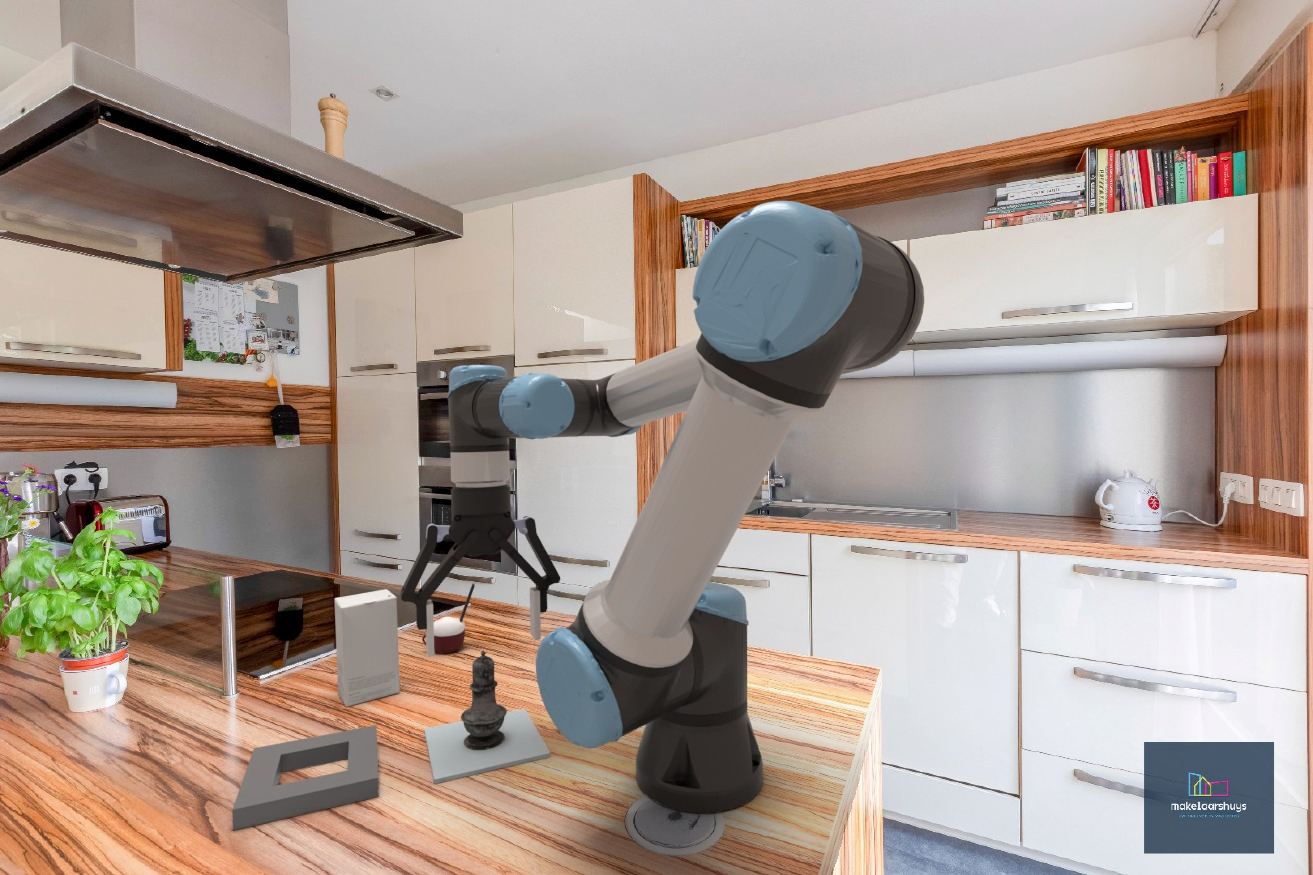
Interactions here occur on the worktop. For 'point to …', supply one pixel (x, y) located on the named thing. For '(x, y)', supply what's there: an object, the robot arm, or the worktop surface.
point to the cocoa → (450, 631)
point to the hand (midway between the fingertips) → (484, 645)
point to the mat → (460, 761)
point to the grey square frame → (276, 802)
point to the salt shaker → (483, 708)
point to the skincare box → (367, 646)
